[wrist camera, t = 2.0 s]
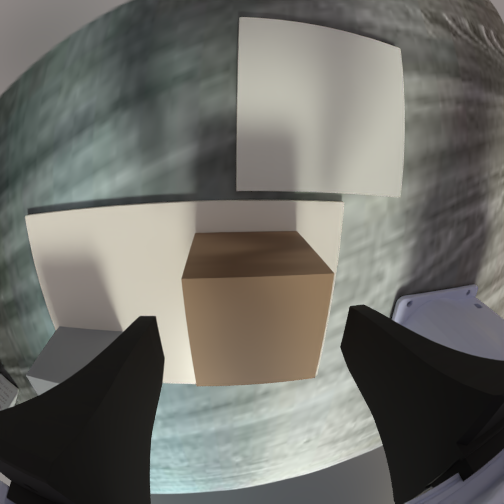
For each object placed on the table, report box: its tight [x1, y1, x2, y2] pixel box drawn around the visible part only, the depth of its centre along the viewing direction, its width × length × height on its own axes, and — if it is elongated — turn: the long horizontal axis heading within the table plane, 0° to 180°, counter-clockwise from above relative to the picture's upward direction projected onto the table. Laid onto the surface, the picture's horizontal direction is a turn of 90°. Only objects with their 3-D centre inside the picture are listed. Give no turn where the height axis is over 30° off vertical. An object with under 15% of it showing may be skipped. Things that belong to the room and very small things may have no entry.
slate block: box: [26, 326, 123, 395], centre depth 13 cm, size 5×5×5 cm
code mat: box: [25, 200, 344, 384], centre depth 15 cm, size 18×12×1 cm, turn 89°
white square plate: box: [236, 17, 405, 197], centre depth 12 cm, size 9×9×1 cm
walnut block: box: [181, 231, 334, 386], centre depth 12 cm, size 5×5×5 cm
